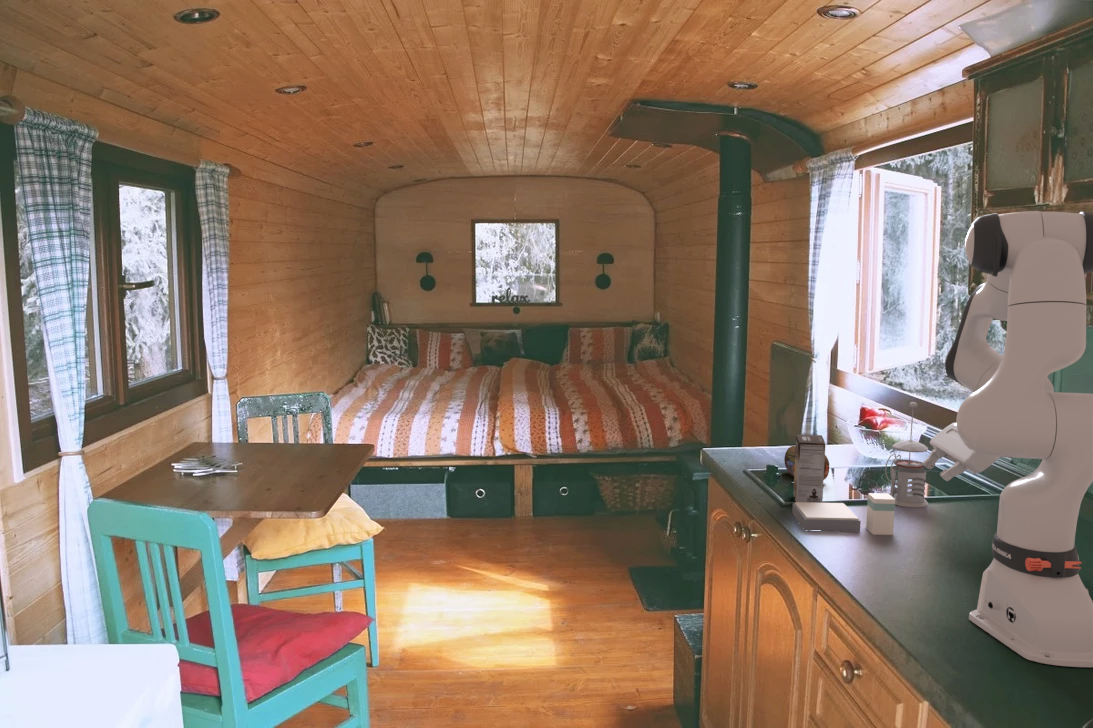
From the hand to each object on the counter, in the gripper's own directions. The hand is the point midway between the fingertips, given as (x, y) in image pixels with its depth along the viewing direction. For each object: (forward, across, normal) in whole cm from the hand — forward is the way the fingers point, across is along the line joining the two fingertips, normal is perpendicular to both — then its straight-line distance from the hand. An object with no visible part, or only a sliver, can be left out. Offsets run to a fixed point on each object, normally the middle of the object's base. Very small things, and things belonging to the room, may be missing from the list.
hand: (934, 472), depth 181 cm
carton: (+17, 0, +2) cm, 18 cm away
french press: (+8, -23, +12) cm, 27 cm away
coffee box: (+25, -21, -5) cm, 33 cm away
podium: (+25, -5, -6) cm, 26 cm away
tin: (+22, -43, -2) cm, 48 cm away
